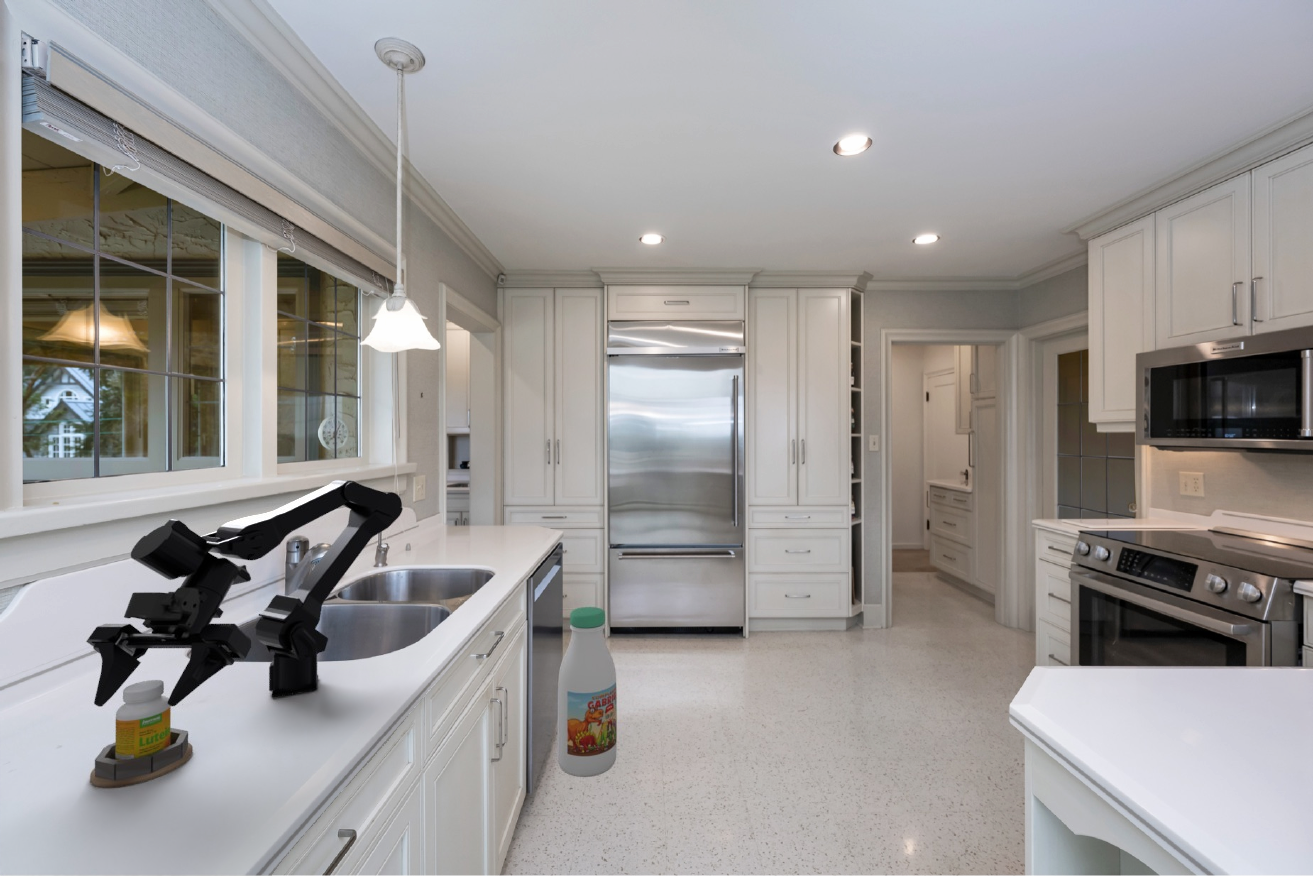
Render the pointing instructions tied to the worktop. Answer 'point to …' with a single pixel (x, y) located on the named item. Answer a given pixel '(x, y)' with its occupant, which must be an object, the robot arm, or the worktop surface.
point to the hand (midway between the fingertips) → (134, 705)
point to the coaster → (140, 763)
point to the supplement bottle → (142, 721)
